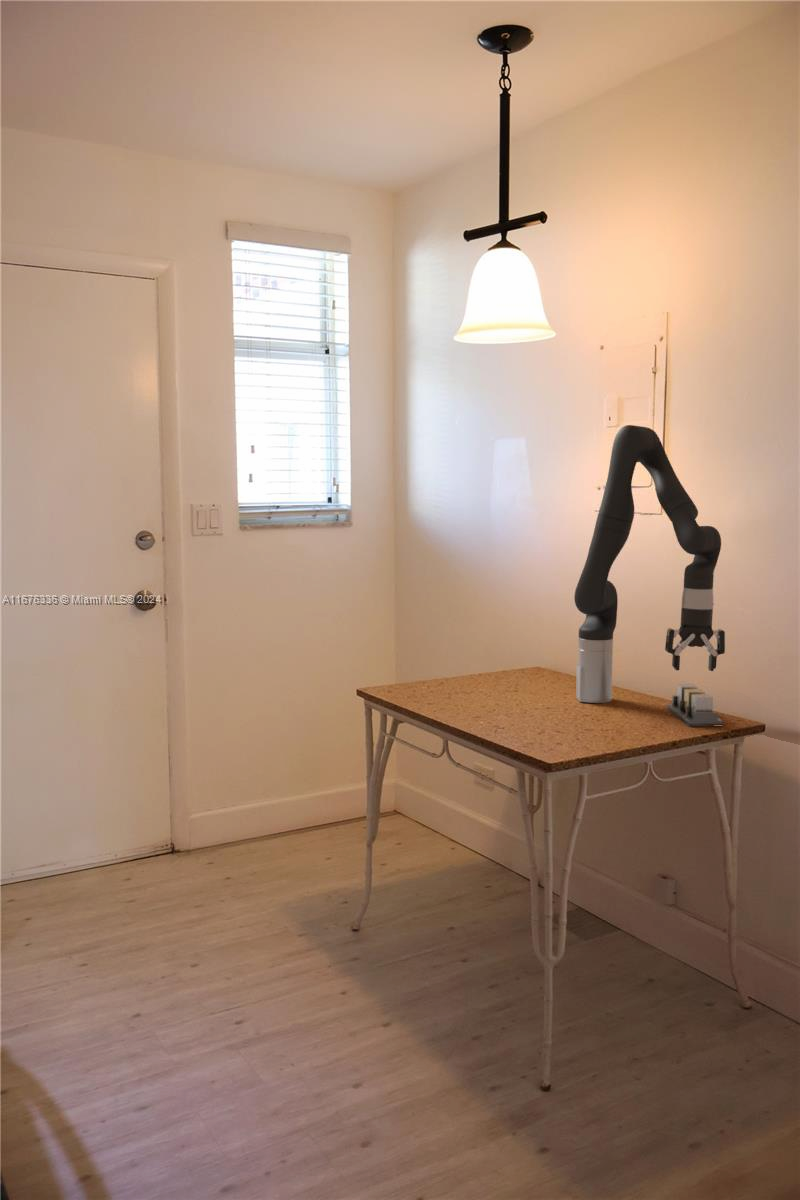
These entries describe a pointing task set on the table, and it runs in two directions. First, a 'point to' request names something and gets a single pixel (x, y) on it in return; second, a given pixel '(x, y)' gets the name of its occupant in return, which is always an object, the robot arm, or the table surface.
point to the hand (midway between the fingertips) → (693, 670)
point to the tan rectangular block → (690, 696)
